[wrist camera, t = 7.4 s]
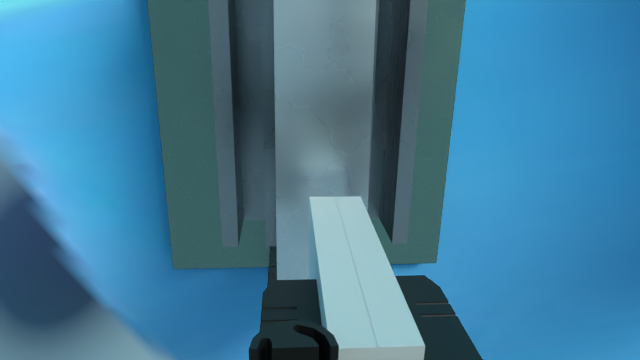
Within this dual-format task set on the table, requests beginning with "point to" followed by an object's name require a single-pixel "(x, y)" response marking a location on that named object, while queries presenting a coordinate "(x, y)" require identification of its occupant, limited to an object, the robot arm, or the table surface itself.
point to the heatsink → (259, 127)
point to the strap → (319, 114)
